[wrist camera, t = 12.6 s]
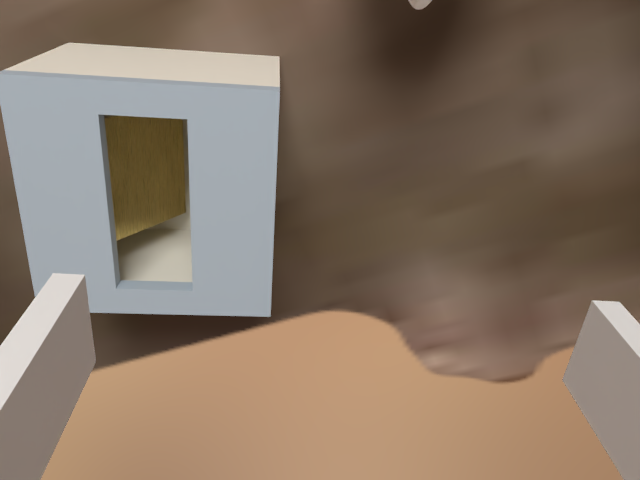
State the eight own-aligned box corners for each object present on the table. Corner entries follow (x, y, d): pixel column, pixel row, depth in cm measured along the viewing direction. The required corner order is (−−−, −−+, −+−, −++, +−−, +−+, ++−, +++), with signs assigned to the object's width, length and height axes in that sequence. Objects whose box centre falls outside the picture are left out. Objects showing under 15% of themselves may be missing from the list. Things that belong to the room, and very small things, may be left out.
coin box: (68, 42, 37) (-6, 73, 28) (279, 56, 39) (279, 90, 29) (91, 231, 44) (37, 311, 34) (272, 238, 45) (270, 316, 35)
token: (155, 95, 39) (48, 115, 33) (181, 102, 37) (76, 124, 31) (161, 203, 42) (66, 238, 36) (185, 212, 41) (91, 251, 35)
